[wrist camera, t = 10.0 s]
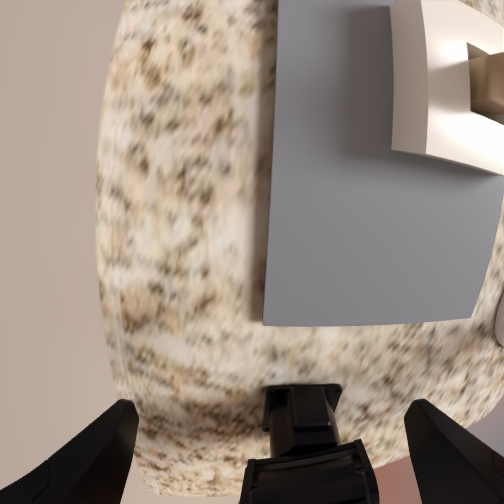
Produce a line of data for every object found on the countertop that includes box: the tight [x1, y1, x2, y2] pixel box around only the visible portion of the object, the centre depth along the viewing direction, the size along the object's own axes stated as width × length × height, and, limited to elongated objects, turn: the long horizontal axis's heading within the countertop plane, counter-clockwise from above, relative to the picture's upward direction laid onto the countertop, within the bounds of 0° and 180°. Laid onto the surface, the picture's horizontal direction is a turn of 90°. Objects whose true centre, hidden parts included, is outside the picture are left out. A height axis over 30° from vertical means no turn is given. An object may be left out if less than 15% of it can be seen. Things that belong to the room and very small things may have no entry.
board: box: [262, 0, 504, 326], centre depth 16 cm, size 24×18×1 cm
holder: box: [389, 0, 504, 177], centre depth 12 cm, size 10×10×4 cm
